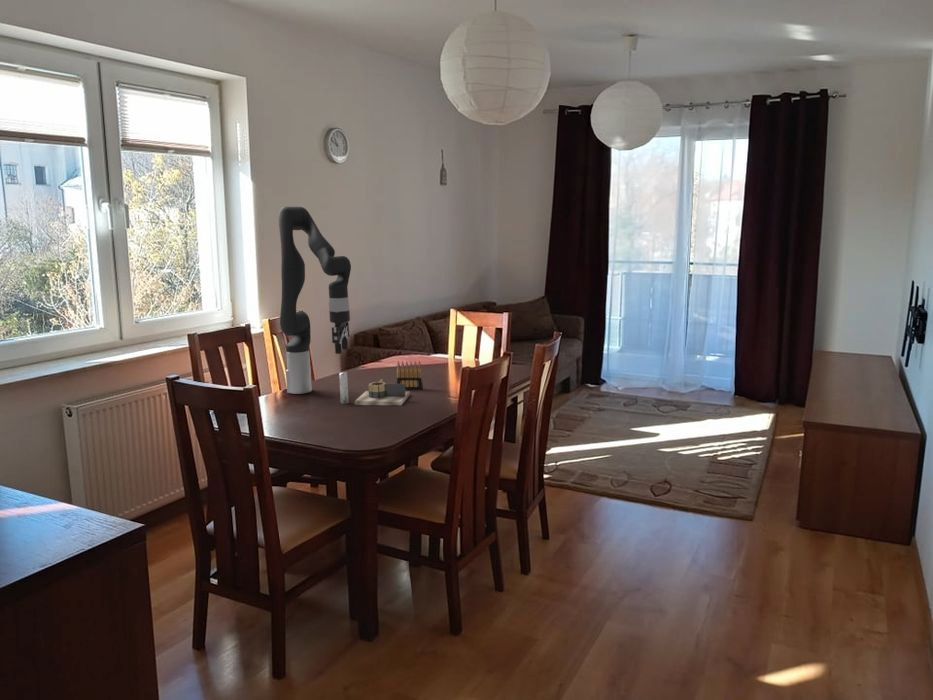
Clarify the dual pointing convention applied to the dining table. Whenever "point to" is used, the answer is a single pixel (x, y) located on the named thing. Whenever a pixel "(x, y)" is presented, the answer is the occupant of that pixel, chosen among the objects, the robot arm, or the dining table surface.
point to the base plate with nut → (383, 394)
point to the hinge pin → (343, 387)
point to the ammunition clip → (410, 376)
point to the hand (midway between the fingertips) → (341, 351)
